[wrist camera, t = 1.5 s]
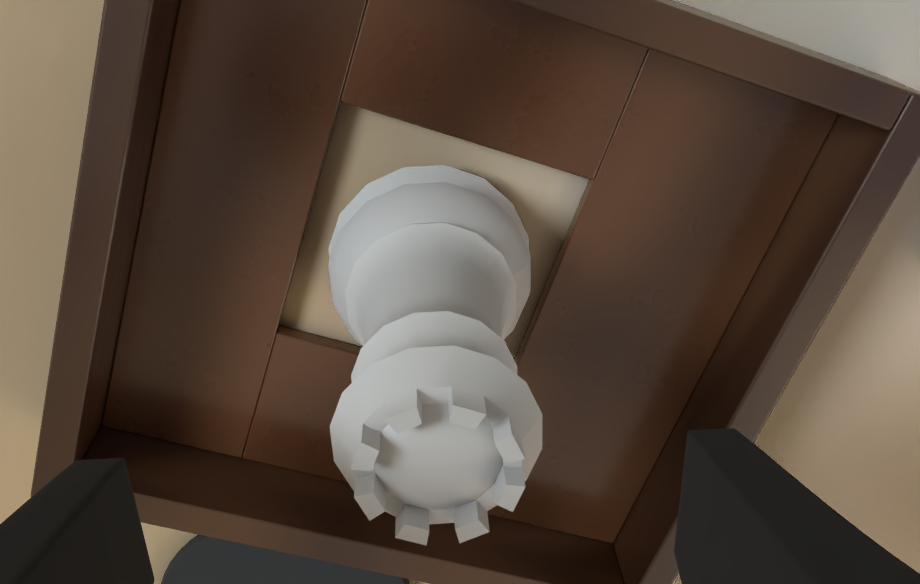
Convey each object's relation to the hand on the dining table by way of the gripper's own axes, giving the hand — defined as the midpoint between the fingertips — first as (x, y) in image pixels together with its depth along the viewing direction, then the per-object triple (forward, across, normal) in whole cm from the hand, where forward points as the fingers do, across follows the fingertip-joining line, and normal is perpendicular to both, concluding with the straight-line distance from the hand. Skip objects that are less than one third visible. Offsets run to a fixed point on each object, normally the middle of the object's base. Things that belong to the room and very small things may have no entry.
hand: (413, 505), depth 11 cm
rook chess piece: (+9, 0, 0) cm, 9 cm away
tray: (+9, -1, +1) cm, 9 cm away
